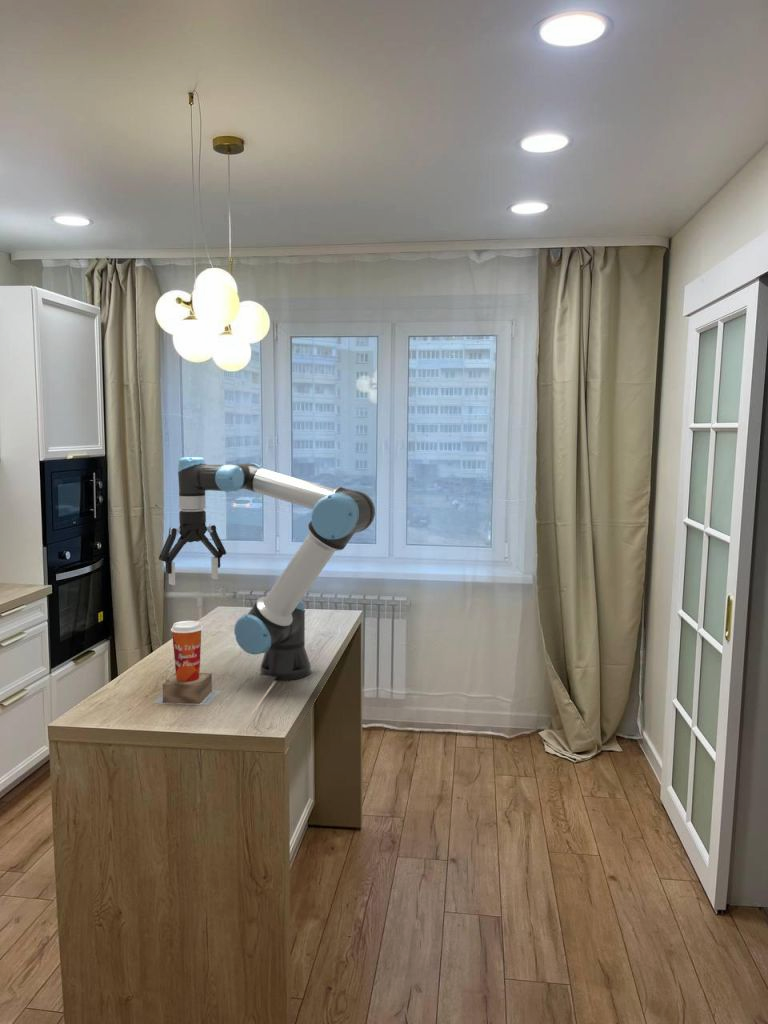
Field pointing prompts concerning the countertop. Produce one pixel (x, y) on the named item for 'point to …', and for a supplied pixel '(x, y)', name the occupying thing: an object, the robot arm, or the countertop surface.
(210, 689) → the pedestal
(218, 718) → the countertop surface
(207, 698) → the build plate
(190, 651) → the coffee cup
